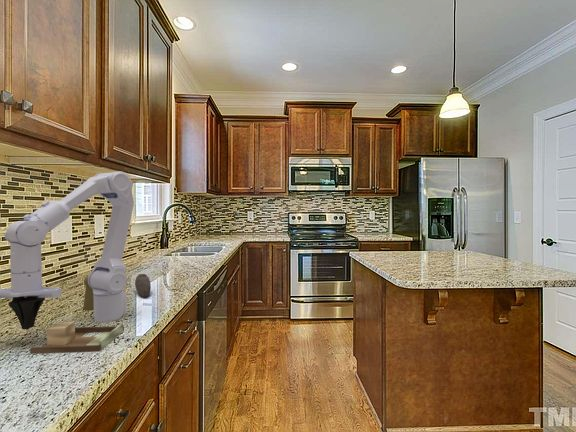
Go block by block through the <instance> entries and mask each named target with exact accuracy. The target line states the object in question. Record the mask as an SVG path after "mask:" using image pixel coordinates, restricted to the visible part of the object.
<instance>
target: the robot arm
mask: <svg viewBox="0 0 576 432" xmlns="http://www.w3.org/2000/svg"><path fill="white" fill-rule="evenodd" d="M133 187H134V182H133V180H132V179H131V178H130V175H128V174H127V173H126V172H124V171H120V170H118V171H114V172H113V171H112V172H98V173H96V174H95V175H93V176H91V177H89V178H87V180H86V181H85V182H83V183H82V184H80V185H79V186H78V187H77V188H75V189H74V190H73V191H71V192H70V193H68V194H67V195H66V196H64V197H63V198H62V199H61V200H58V201H57V200H50V201H44V202H42V203H41V204H40V205H41V206H40V207H39V208H38V209H36V210H34V211H33V212H32V213H30V214H28V213H27V214H24V216H22V218H23V220H18V221H14V222H12V223H11V224H10V225H8V227H7V229H6V232H4V235H3V236H4V238H5V240H6V241H7V242H8V243H9V244H10V247H9V248H10V249H9V250H10V254H9V256H10V287H11V288H0V299H11V301H9V302H8V306H9V308H10V309H12V311H13V312H14V314H15V315H16V317H17V319H18V322H19V324H20V327H21V330H30V329H31V328H34V327H35V323H36V320H37V316H38V313H39V311H40V309H41V306H42V305H43V303H44V302H45V299H46V298H51V299H57V298H60V297H62V288H61V287H60V288H59V287H47V286H43V274H42V273H43V269H42V264H43V263H42V243H43V242H44V241H45V239H46V237H47V234H48V233H50V232H51V231H52V230H54V229H56V228H57V227H58V226H59V225H61V224H62V223H63V222H65V221H67V220H68V219H69V218H70V213H71V212H70V211H72V210H73V209H75V208H76V207H78V206H79V205H81V204H82V203H84V202H86V201H87V200H89V199H90V198H92V197H93V196H96V195H101V196H102V197H103V198H104V199H106V200H107V201H108V202H109V203H110V205H111V206H112V209H111V214H110V217H109V222H108V225H107V226H108V227H107V231H106V234H105V235H106V236H105V240H104V243H103V244H104V245H103V248H102V252H101V257H100V258H99V260H98V261H96V262H95V263H94V265H93V266H94V267H93V269H92V271H91V272H90V273H89V275H88V276H89V277H88V284H89V286H90V287H91V288H92V289H93V298H94V310H93V321H95V322H96V323H105V322H106V323H109V322H113V321H117V320H119V319H121V318H122V317H123V315H124V314H128V312H127V311H128V307H127V305H128V304H127V303H128V301H127V299H128V298H127V293H126V292H125V291H124V288H125V287H126V285H127V281H128V278H127V275H126V274H127V273H126V272H127V266H126V265H125V263H124V262H123V256H124V252H125V248H126V247H125V246H126V241H127V238H128V233H129V228H130V223H131V219H132V214H133V209H134V205H135V202H134V195H133Z"/></svg>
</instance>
